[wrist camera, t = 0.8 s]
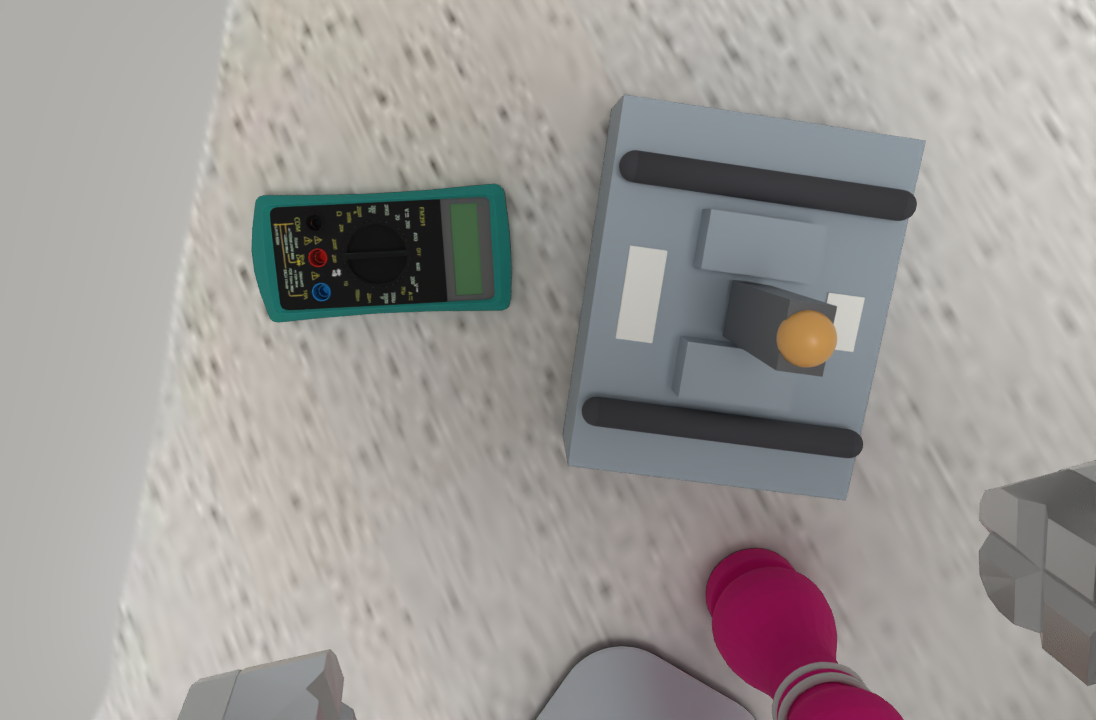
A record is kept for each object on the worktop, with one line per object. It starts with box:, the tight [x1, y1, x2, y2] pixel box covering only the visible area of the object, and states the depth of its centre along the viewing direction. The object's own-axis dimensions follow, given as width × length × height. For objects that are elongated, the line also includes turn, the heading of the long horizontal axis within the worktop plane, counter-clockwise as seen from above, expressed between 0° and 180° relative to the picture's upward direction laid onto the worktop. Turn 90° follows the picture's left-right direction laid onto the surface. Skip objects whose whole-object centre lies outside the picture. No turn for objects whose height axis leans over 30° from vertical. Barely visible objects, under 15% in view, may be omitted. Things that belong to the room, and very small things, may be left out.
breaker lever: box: [723, 280, 837, 377], centre depth 37 cm, size 2×3×11 cm
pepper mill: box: [706, 549, 903, 720], centre depth 42 cm, size 7×7×20 cm
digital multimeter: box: [252, 184, 511, 322], centre depth 46 cm, size 7×15×3 cm, turn 93°
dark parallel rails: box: [582, 150, 917, 458], centre depth 42 cm, size 16×15×2 cm
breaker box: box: [563, 95, 926, 500], centre depth 44 cm, size 16×20×8 cm
